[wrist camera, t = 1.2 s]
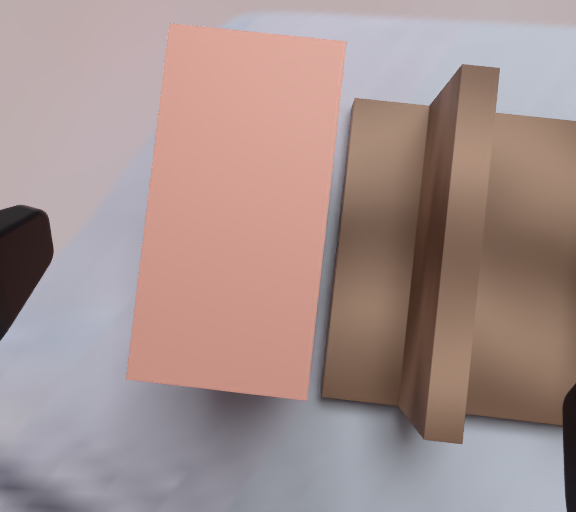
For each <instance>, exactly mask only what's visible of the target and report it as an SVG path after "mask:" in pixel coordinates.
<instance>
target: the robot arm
mask: <svg viewBox="0 0 576 512" xmlns="http://www.w3.org/2000/svg"><path fill="white" fill-rule="evenodd" d="M53 252H54V249H53V242H52V237H51V229H50V223H49V218H48V215H47V214H46V212H44V211H43V210H40V209H36V208H33V207H29V206H26V205H17V206H13V207H10V208H6V209H2V210H0V341H1V339H2V338H3V337H4V335H5V334H6V332H7V331H8V329H9V328H10V327H11V325H12V324H13V322H14V320H15V319H16V317H17V316H18V314H19V312H20V311H21V309H22V308H23V306H24V304H25V303H26V301H27V300H28V298H29V297H30V295H31V293H32V292H33V290H34V289H35V287H36V285H37V284H38V282H39V281H40V279H41V277H42V276H43V274H44V273H45V271H46V269H47V268H48V266H49V265H50V263H51V260H52V258H53ZM562 418H563V450H564V481H565V498H566V508H567V512H576V383H575V384H574V385H573V387H572V388H571V389H570V390H569V391H568V393H567V394H566V396H565V398H564V401H563V406H562Z"/></svg>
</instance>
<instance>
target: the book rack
mask: <svg viewBox="0 0 576 512" xmlns="http://www.w3.org/2000/svg"><path fill="white" fill-rule="evenodd" d="M499 71H500V68H493V67H484V66H474V65H464V64H462V65H461V67H460V68H459V69H458V70H457V72H456V73H455V74H454V76H453V77H452V78H451V79H450V81H449V82H448V83H447V84H446V86H445V87H444V88H443V89H442V91H441V92H440V93H439V94H438V96H437V97H436V98H435V100H434V101H433V102H432V103H431V105H430V106H426V105H416V104H407V103H397V102H388V101H378V100H369V99H359V98H355V99H354V102H353V105H352V113H351V122H350V131H349V140H348V149H347V158H346V167H345V176H344V186H343V195H342V204H341V213H340V222H339V231H338V240H337V250H336V259H335V268H334V277H333V286H332V295H331V304H330V313H329V323H328V332H327V341H326V350H325V359H324V368H323V377H322V387H321V393H322V397H326V398H335V399H343V400H352V401H360V402H369V403H377V404H386V405H394V406H399V408H400V409H401V410H402V412H403V413H404V414H405V416H406V417H407V418H408V419H409V421H410V422H411V423H412V425H413V426H414V427H415V429H416V430H417V431H418V433H419V434H420V435H421V436H422V438H423V439H424V440H431V441H440V442H448V443H457V444H462V442H463V432H464V422H465V414H471V415H479V416H488V417H496V418H505V419H513V420H522V421H530V422H539V423H547V424H556V425H563V418H562V406H563V401H564V398H565V396H566V394H567V393H568V391H569V390H570V389H571V388H572V387H573V385H574V384H575V383H576V121H569V120H559V119H550V118H540V117H531V116H521V115H512V114H502V113H495V111H496V101H497V91H498V81H499Z"/></svg>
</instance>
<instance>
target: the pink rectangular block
mask: <svg viewBox="0 0 576 512" xmlns="http://www.w3.org/2000/svg"><path fill="white" fill-rule="evenodd" d="M345 51H346V41H337V40H327V39H317V38H307V37H297V36H288V35H278V34H268V33H258V32H248V31H239V30H229V29H219V28H209V27H198V26H189V25H180V24H169V32H168V40H167V49H166V56H165V65H164V73H163V81H162V89H161V97H160V105H159V114H158V122H157V130H156V138H155V146H154V155H153V163H152V171H151V179H150V187H149V196H148V204H147V212H146V220H145V228H144V236H143V245H142V253H141V261H140V269H139V277H138V286H137V294H136V302H135V310H134V318H133V327H132V335H131V343H130V351H129V359H128V367H127V376H126V379H127V380H135V381H144V382H152V383H161V384H169V385H178V386H186V387H195V388H203V389H212V390H220V391H228V392H237V393H245V394H254V395H262V396H271V397H279V398H288V399H296V400H304V401H307V396H308V387H309V378H310V369H311V359H312V350H313V341H314V332H315V323H316V314H317V305H318V296H319V287H320V278H321V269H322V260H323V251H324V242H325V233H326V224H327V215H328V205H329V196H330V187H331V178H332V169H333V160H334V151H335V142H336V133H337V124H338V115H339V106H340V97H341V88H342V79H343V70H344V61H345Z"/></svg>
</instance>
